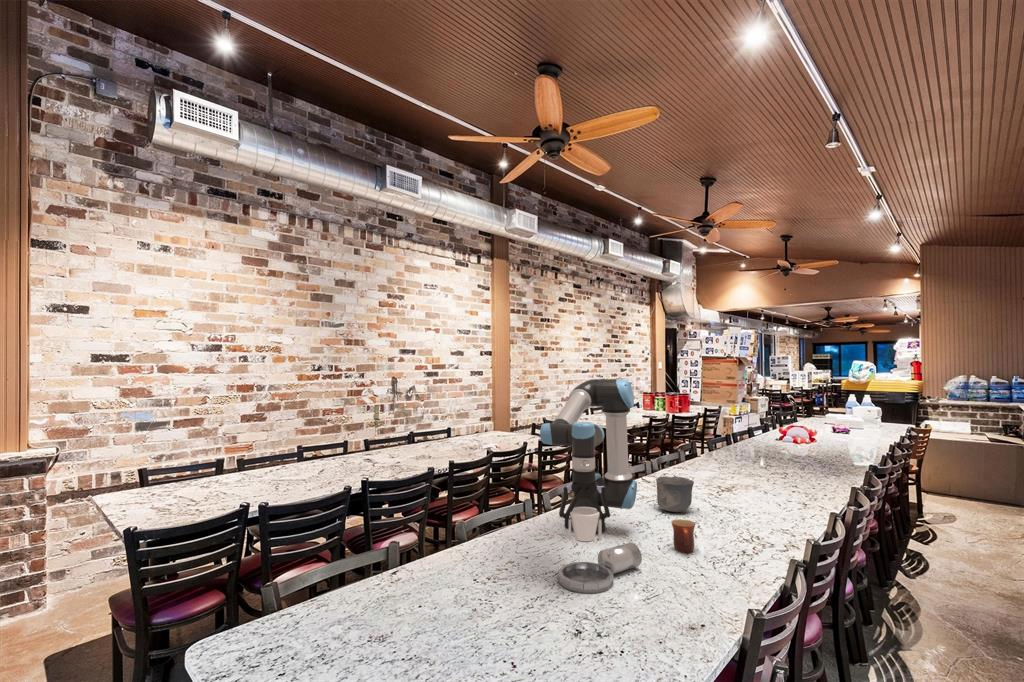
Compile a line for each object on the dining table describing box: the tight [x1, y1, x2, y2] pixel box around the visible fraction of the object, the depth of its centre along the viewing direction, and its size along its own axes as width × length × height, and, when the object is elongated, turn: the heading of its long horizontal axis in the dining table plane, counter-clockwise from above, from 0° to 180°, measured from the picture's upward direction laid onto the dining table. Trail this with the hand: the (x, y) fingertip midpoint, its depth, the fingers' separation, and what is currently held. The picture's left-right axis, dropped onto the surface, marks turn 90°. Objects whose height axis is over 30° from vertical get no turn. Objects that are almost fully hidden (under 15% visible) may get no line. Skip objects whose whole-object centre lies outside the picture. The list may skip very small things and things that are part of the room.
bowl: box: [655, 475, 695, 513], centre depth 240 cm, size 18×18×15 cm
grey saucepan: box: [557, 542, 643, 595], centre depth 167 cm, size 31×18×8 cm, turn 123°
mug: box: [671, 518, 696, 554], centre depth 189 cm, size 12×9×10 cm
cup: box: [569, 507, 600, 543], centre depth 165 cm, size 10×10×9 cm
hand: (584, 538), depth 164 cm, fingers closed on cup, 9 cm apart
